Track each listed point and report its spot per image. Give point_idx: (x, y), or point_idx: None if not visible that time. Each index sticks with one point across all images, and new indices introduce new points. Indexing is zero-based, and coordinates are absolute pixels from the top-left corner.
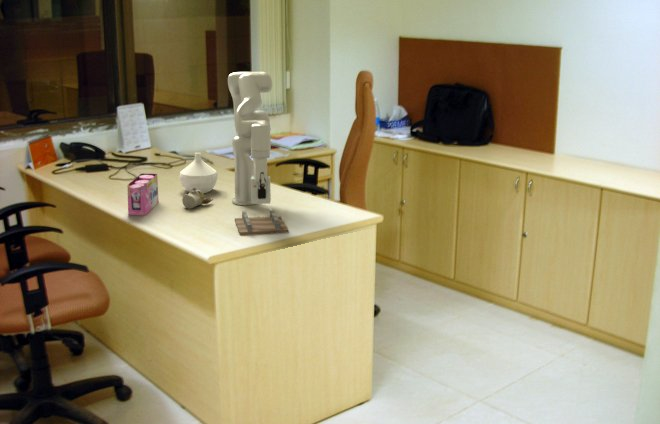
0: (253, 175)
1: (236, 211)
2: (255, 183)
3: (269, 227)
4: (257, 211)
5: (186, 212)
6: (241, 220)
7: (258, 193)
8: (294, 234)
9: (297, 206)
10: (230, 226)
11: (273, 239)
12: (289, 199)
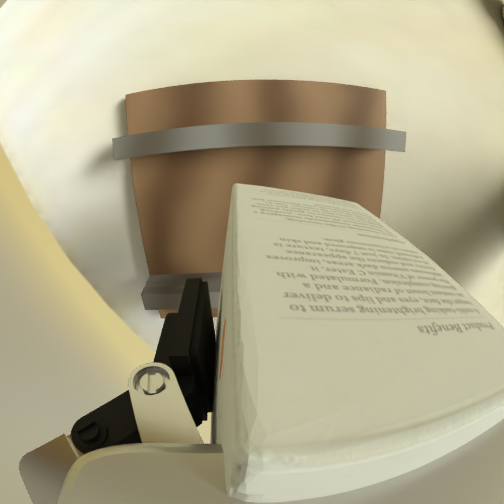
0: (463, 492)
1: (483, 140)
2: (219, 411)
3: (196, 247)
4: (465, 219)
5: None
6: (343, 115)
7: (179, 317)
8: (143, 325)
9: None
10: (289, 53)
11: (77, 247)
12: (497, 317)
